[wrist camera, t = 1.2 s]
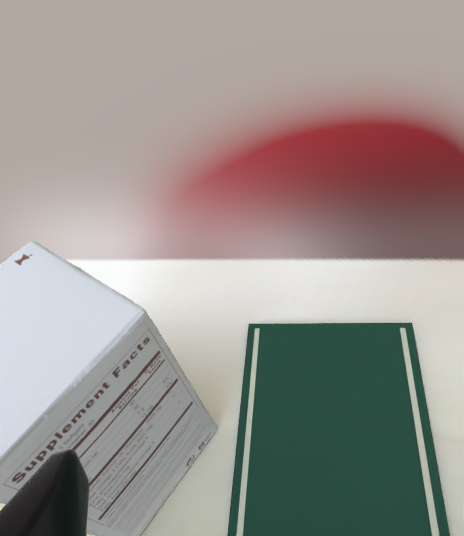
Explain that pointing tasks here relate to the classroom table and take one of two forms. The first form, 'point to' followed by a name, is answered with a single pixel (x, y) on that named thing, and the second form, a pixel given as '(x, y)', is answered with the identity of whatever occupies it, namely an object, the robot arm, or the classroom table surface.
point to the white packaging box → (91, 391)
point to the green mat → (334, 435)
